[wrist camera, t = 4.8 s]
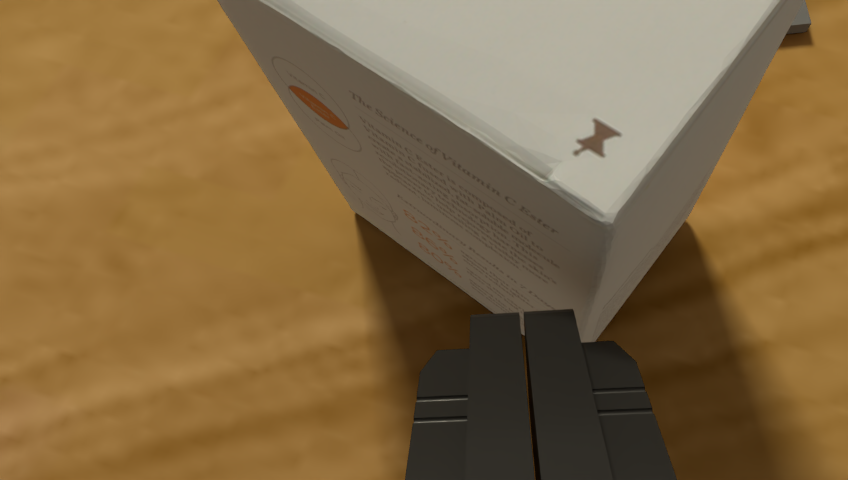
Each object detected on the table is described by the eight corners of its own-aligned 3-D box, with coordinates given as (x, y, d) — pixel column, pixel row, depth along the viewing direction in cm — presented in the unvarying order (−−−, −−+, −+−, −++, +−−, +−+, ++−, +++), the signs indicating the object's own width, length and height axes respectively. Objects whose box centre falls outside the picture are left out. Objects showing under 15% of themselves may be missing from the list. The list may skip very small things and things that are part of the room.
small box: (691, 217, 19) (869, -83, 9) (570, 378, 18) (623, 237, 8) (463, 76, 21) (408, -277, 12) (345, 210, 20) (178, -54, 11)
